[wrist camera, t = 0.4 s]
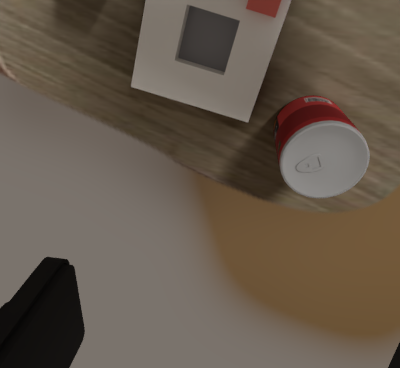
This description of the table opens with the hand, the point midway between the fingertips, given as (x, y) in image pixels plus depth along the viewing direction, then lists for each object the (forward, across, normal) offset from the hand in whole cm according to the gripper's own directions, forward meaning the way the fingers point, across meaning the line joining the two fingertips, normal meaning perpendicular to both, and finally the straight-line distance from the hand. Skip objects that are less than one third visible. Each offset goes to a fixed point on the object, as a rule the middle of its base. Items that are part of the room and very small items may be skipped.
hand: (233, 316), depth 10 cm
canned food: (+34, -8, +5) cm, 36 cm away
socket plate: (+34, +4, -4) cm, 35 cm away
